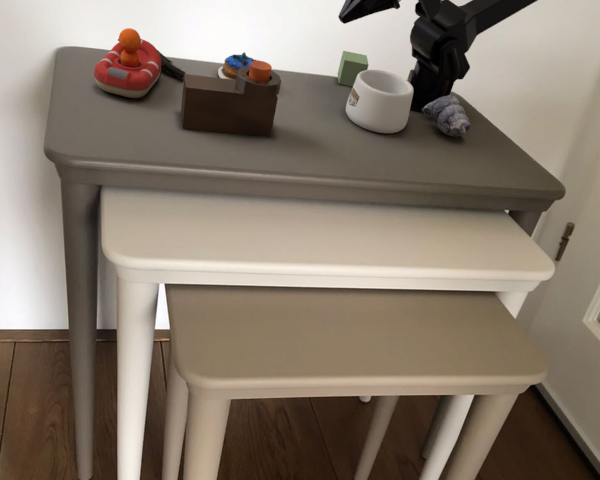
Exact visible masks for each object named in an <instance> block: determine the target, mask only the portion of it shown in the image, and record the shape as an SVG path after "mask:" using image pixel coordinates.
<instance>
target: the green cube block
mask: <svg viewBox="0 0 600 480" xmlns="http://www.w3.org/2000/svg"><path fill="white" fill-rule="evenodd" d="M364 70H369V59H368V56H367V54H362V53H358V52H353V51H347V50H343V51H342V53H341V58H340V61H339V66H338V70H337V81H338V84H339V85H342V86H343V85H344V86H347V87H351V88H353V86H354V83H355V80H356V78H357V75H358V74H359V73H360V72H362V71H364Z"/></svg>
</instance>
